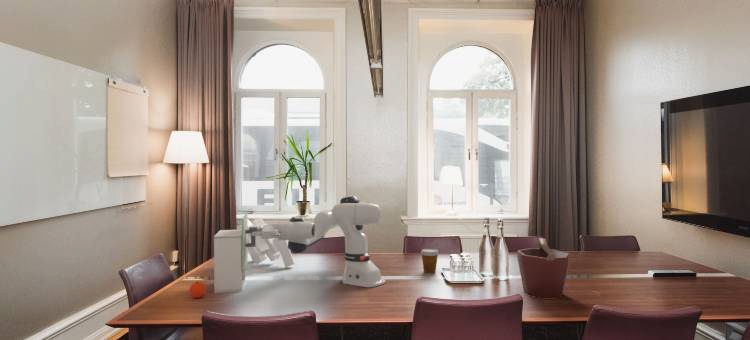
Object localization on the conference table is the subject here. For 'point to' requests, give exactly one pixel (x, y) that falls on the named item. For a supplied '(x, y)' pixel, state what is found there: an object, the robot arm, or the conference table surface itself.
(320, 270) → the conference table surface
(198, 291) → the clementine
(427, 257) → the disposable coffee cup
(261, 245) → the pile of blocks
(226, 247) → the storage box
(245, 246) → the hatch
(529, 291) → the bucket
